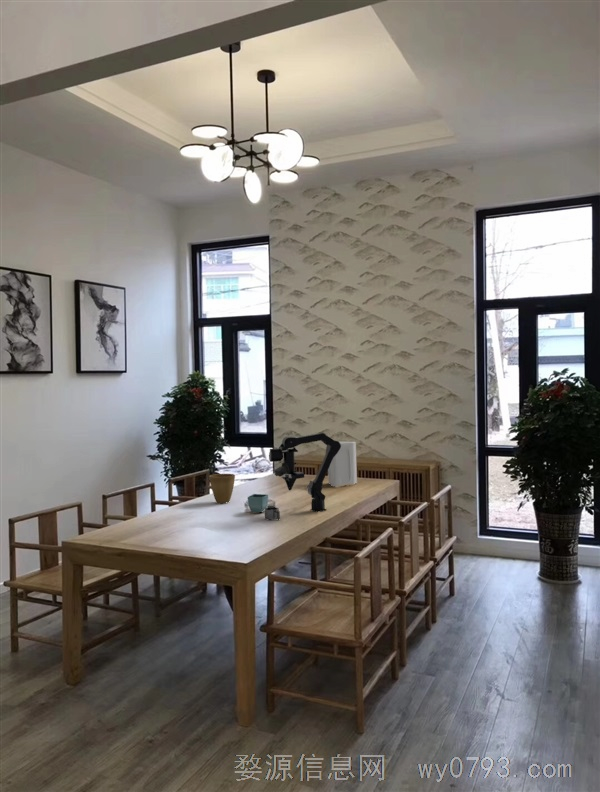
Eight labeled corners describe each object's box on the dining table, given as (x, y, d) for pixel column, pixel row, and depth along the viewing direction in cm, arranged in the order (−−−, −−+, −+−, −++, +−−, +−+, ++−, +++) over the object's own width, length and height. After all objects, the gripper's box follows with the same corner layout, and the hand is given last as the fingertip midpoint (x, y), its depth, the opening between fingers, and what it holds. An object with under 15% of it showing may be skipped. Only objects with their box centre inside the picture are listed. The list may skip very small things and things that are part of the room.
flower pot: (263, 514, 334) (262, 497, 334) (247, 513, 337) (247, 496, 337) (269, 510, 342) (268, 494, 342) (254, 510, 345) (253, 493, 345)
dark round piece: (273, 515, 326) (272, 504, 326) (278, 517, 322) (278, 505, 322) (265, 517, 323) (264, 506, 323) (270, 518, 319) (270, 507, 319)
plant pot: (236, 504, 364) (235, 476, 364) (210, 505, 362) (209, 477, 361) (235, 499, 379) (234, 472, 378) (210, 500, 376) (209, 474, 376)
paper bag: (321, 486, 415) (319, 443, 414) (331, 482, 427) (330, 441, 427) (347, 488, 405) (346, 444, 404) (357, 484, 418) (356, 441, 417)
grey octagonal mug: (273, 516, 328) (273, 506, 328) (284, 519, 320) (284, 509, 320) (262, 518, 324) (262, 508, 323) (273, 521, 316) (273, 511, 316)
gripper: (266, 460, 337) (267, 490, 337) (287, 463, 322) (288, 494, 323) (283, 458, 344) (284, 487, 344) (304, 461, 329) (305, 491, 329)
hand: (289, 490), depth 335 cm, fingers closed
